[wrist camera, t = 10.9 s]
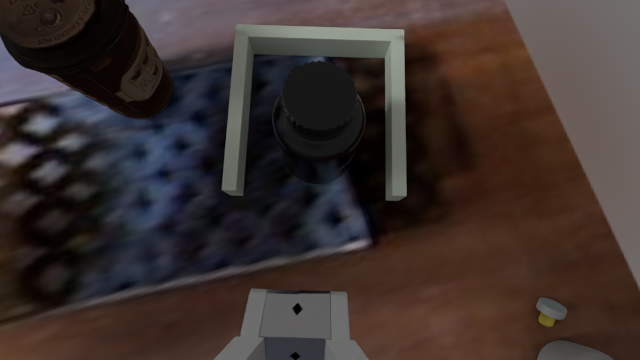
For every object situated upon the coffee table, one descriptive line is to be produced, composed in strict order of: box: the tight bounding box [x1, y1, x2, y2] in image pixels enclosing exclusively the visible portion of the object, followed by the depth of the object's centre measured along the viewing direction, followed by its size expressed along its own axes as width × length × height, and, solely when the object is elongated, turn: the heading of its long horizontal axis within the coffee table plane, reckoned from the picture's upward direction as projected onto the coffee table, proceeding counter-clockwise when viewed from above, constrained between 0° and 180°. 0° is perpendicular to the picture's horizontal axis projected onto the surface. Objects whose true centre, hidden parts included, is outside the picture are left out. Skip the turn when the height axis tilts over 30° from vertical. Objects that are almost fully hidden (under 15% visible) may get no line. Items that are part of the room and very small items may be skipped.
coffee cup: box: [0, 0, 173, 119], centre depth 29 cm, size 9×8×13 cm
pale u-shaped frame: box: [222, 24, 407, 201], centre depth 33 cm, size 16×16×3 cm
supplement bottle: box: [272, 61, 365, 184], centre depth 28 cm, size 7×7×12 cm
